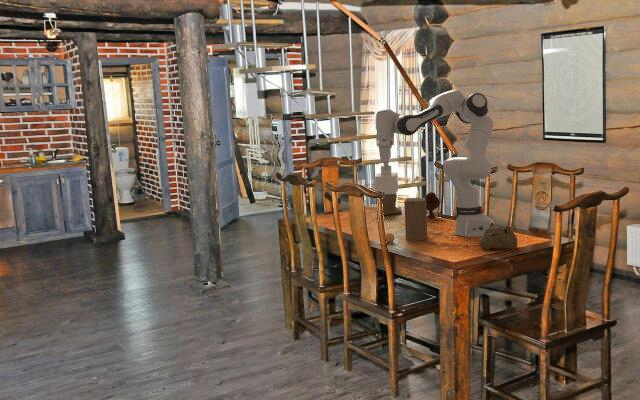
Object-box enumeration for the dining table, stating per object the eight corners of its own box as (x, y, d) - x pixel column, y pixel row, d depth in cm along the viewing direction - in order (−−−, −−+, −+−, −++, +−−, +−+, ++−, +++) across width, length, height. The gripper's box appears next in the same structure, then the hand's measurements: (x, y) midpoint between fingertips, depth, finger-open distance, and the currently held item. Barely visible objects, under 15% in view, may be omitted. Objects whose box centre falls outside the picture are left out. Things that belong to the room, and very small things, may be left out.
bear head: (471, 248, 323) (472, 223, 322) (501, 245, 331) (502, 221, 330) (491, 253, 311) (492, 227, 310) (521, 251, 319) (523, 225, 318)
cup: (378, 190, 362) (377, 164, 360) (398, 189, 360) (397, 164, 358) (375, 194, 347) (374, 168, 345) (396, 193, 345) (395, 167, 343)
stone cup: (381, 217, 411) (380, 192, 408) (375, 214, 422) (374, 189, 420) (406, 215, 414) (405, 190, 411) (399, 211, 425) (398, 187, 423)
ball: (394, 238, 347) (394, 231, 344) (394, 245, 343) (393, 238, 340) (384, 238, 348) (384, 230, 345) (383, 245, 344) (383, 237, 341)
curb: (393, 244, 342) (393, 241, 342) (393, 244, 341) (393, 241, 341) (381, 244, 343) (381, 241, 343) (381, 244, 342) (381, 242, 342)
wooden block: (425, 240, 345) (424, 200, 342) (405, 240, 347) (404, 201, 344) (427, 236, 355) (426, 197, 351) (407, 236, 357) (406, 197, 354)
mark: (398, 238, 353) (398, 238, 353) (397, 244, 341) (397, 243, 341) (379, 239, 354) (379, 238, 354) (377, 244, 343) (377, 244, 343)
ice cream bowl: (443, 216, 403) (442, 190, 401) (435, 219, 394) (435, 193, 392) (426, 215, 409) (425, 190, 406) (418, 218, 400) (417, 193, 397)
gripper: (380, 140, 360) (381, 166, 362) (377, 143, 340) (378, 171, 342) (392, 139, 359) (394, 166, 361) (390, 143, 339) (391, 171, 341)
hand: (386, 169), depth 352 cm, fingers closed on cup, 3 cm apart
